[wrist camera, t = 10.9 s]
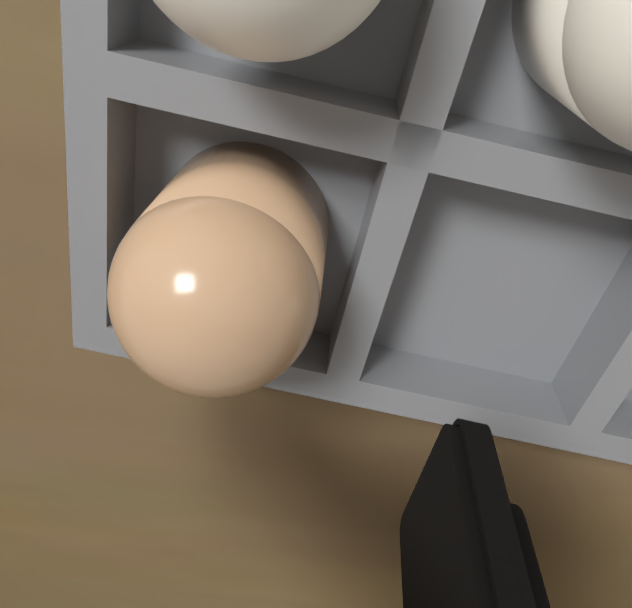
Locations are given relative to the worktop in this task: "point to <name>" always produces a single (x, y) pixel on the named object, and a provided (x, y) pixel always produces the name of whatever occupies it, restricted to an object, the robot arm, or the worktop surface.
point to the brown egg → (222, 272)
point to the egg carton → (393, 188)
